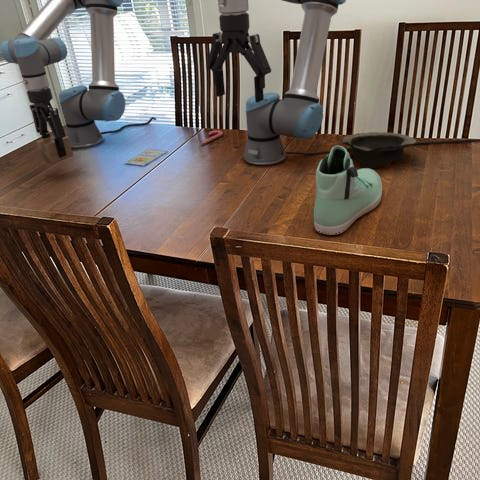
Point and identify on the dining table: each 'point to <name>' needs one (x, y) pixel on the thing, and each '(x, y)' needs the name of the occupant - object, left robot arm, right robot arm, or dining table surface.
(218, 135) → the candy cane
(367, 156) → the black hat
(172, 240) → the dining table surface
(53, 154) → the block
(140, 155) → the baking ingredient package
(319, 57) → the right robot arm
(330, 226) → the sneaker
